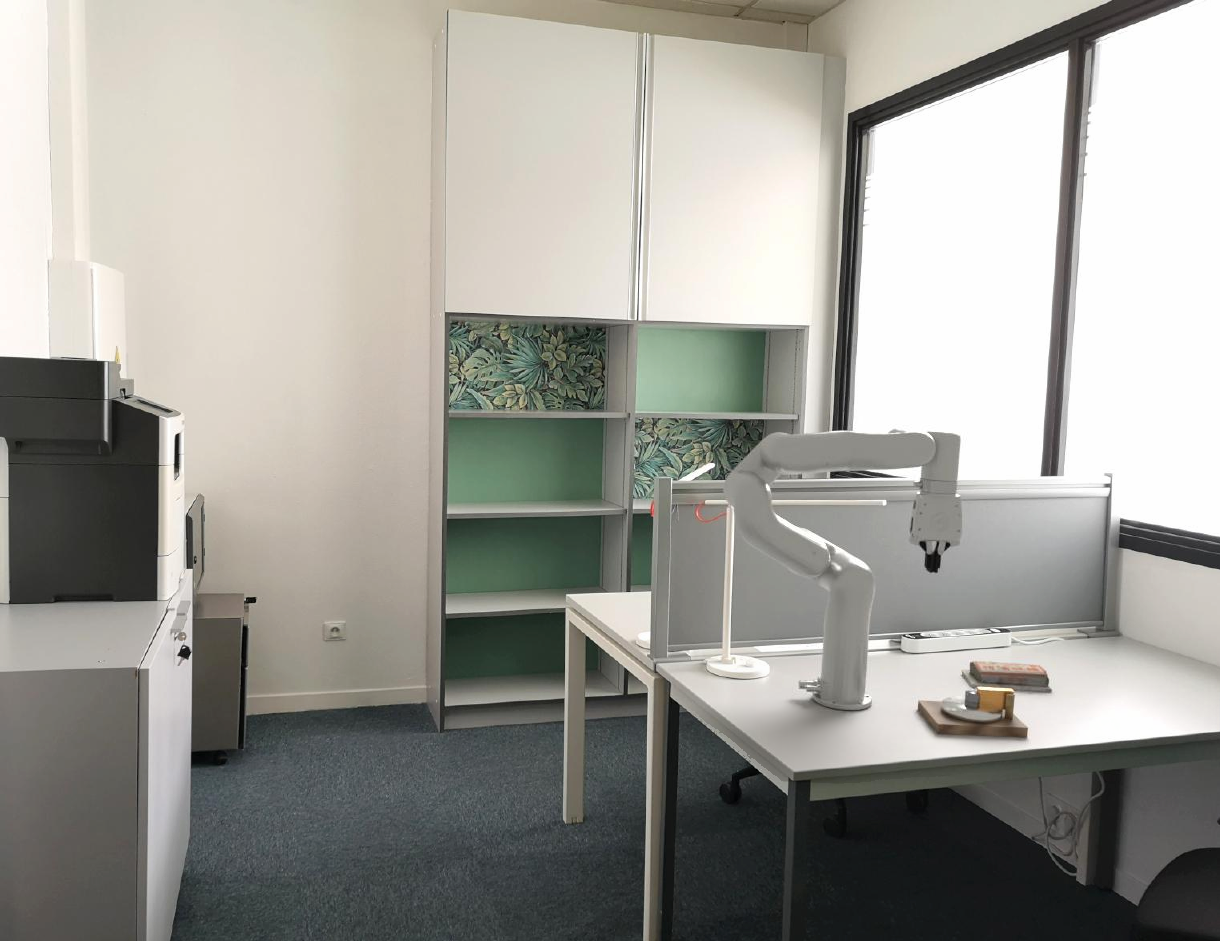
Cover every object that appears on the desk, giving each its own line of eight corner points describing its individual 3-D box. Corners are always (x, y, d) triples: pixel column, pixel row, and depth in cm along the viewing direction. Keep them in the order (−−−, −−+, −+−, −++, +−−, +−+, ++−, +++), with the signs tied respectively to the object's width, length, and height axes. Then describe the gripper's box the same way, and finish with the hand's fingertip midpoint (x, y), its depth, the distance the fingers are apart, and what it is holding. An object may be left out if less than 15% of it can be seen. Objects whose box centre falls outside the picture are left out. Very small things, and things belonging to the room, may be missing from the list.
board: (937, 733, 209) (939, 699, 208) (917, 709, 222) (920, 677, 222) (1027, 737, 208) (1030, 703, 208) (1001, 712, 222) (1004, 681, 221)
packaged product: (1039, 660, 247) (1053, 673, 237) (1037, 680, 247) (1051, 694, 237) (962, 656, 248) (973, 669, 238) (960, 675, 249) (971, 689, 239)
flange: (949, 720, 210) (951, 695, 209) (934, 700, 221) (936, 677, 221) (1020, 724, 209) (1022, 699, 208) (1001, 704, 221) (1003, 680, 220)
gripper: (908, 488, 219) (901, 573, 221) (979, 491, 218) (972, 576, 221) (898, 483, 226) (892, 566, 228) (967, 486, 226) (960, 569, 228)
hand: (931, 571), depth 224 cm, fingers closed
